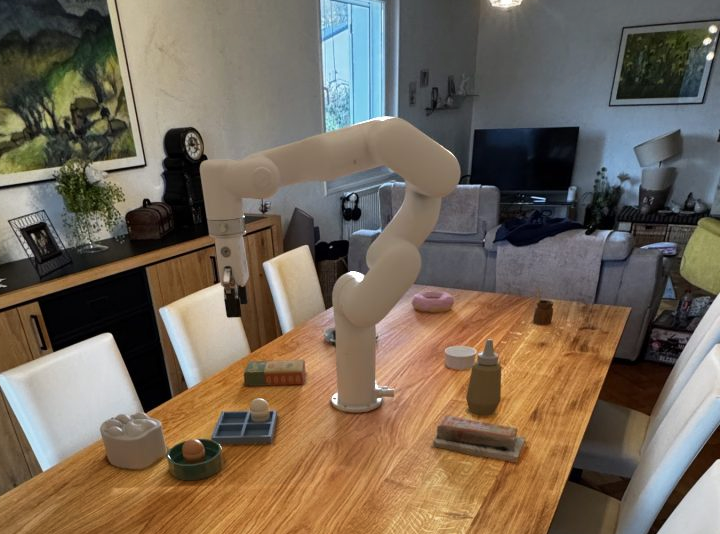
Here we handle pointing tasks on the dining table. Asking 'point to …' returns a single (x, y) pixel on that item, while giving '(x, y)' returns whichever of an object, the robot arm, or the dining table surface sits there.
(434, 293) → the donut
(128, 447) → the lumpy-topped squat cylinder
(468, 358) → the ramekin
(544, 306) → the utensil holder
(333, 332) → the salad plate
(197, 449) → the brown egg
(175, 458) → the bowl
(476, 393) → the squeeze bottle
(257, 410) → the cream egg
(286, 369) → the carton
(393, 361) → the dining table surface
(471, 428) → the packaged product
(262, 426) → the egg tray
